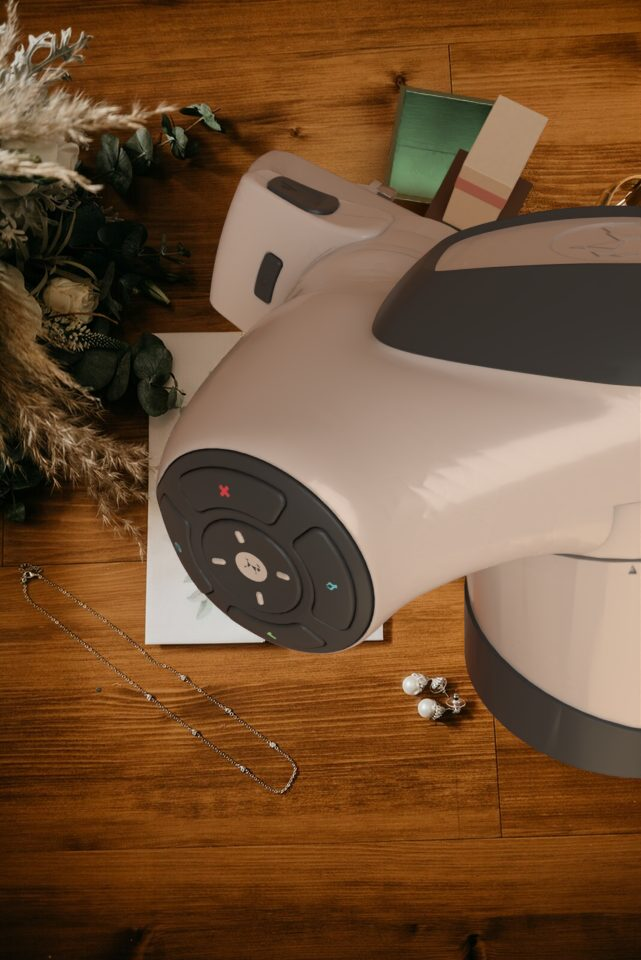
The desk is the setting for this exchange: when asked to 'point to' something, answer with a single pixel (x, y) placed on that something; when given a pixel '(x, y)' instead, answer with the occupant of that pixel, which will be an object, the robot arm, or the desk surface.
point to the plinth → (447, 187)
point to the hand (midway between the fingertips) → (454, 233)
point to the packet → (494, 164)
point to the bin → (429, 141)
